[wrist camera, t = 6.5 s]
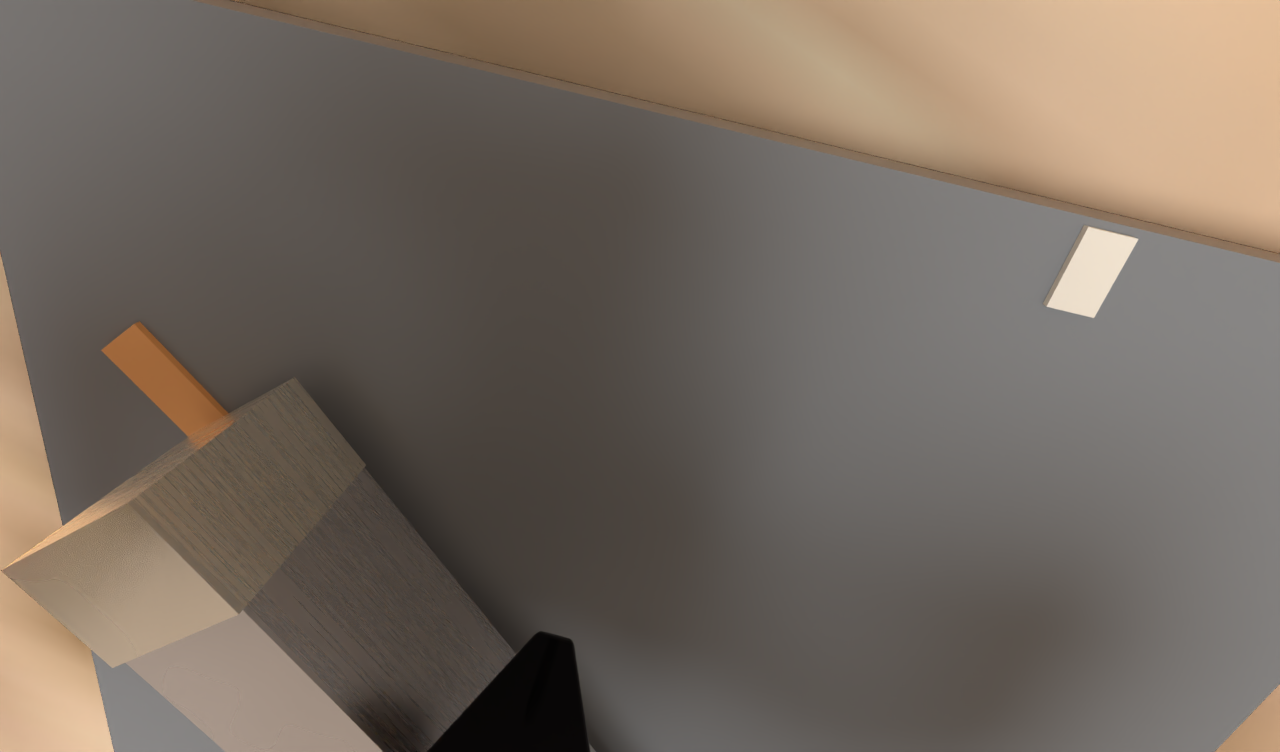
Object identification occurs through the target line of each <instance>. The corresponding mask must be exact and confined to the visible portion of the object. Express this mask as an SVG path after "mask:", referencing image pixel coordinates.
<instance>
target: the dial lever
mask: <svg viewBox="0 0 1280 752" xmlns="http://www.w3.org/2000/svg"><path fill="white" fill-rule="evenodd" d="M365 466H366V464H365V463H364V462H363V461H362V459H361V458H360V457H359V456H358V455H357V453H356V452H355V451H354V450H353V448H352V447H351V446H350V445H349V443H348V442H347V441H346V440H345V438H344V437H343V436H342V435H341V434H340V432H339V431H338V430H337V429H336V427H335V426H334V425H333V424H332V422H331V421H330V420H329V419H328V418H327V416H326V415H325V414H324V413H323V411H322V410H321V409H320V408H319V406H318V405H317V404H316V403H315V402H314V400H313V399H312V398H311V397H310V395H309V394H308V393H307V392H306V390H305V389H304V388H303V387H302V386H301V384H300V383H299V382H298V381H297V379H296V378H295V377H294V378H292V379H290V380H289V381H287V382H285V383H283V384H281V385H280V386H278V387H276V388H274V389H272V390H270V391H269V392H267V393H265V394H263V395H261V396H260V397H258V398H256V399H254V400H252V401H251V402H249V403H247V404H245V405H243V406H241V407H240V408H238V409H236V410H234V411H232V412H231V413H229V414H227V415H225V416H223V417H221V418H220V419H218V420H216V421H214V422H212V423H211V424H209V425H207V426H205V427H203V428H202V429H200V430H198V431H196V432H194V433H192V434H191V435H190V436H188V437H187V438H185V439H184V440H183V441H181V442H180V443H178V444H177V445H176V446H174V447H173V448H171V449H170V450H169V451H167V452H166V453H164V454H163V455H162V456H160V457H159V458H157V459H156V460H155V461H153V462H152V463H150V464H149V465H148V466H146V467H145V468H143V469H142V470H141V471H139V472H138V473H136V474H135V475H134V476H132V477H131V478H129V479H128V480H127V481H125V482H124V483H122V484H121V485H120V486H118V487H117V488H115V489H114V490H113V491H111V492H110V493H108V494H107V495H106V496H104V497H103V498H101V499H100V500H99V501H97V502H96V503H94V504H93V505H92V506H90V507H89V508H87V509H86V510H85V511H83V512H82V513H80V514H79V515H78V516H76V517H75V518H73V519H72V520H71V521H69V522H68V523H66V524H65V525H64V526H62V527H61V528H59V529H58V530H57V531H55V532H54V533H52V534H51V535H50V536H48V537H47V538H45V539H44V540H43V541H41V542H40V543H38V544H37V545H36V546H34V547H33V548H31V549H30V550H29V551H27V552H26V553H24V554H23V555H22V556H20V557H19V558H17V559H16V560H15V561H13V562H12V563H10V564H9V565H8V566H6V567H5V568H3V569H2V570H1V571H2V572H3V573H4V574H6V575H7V576H8V577H9V578H10V579H11V580H12V581H14V582H15V583H16V584H17V585H18V586H19V587H20V588H22V589H23V590H24V591H25V592H26V593H27V594H28V595H30V596H31V597H32V598H33V599H34V600H35V601H36V602H37V603H39V604H40V605H41V606H42V607H43V608H44V609H45V610H47V611H48V612H49V613H50V614H51V615H52V616H53V617H55V618H56V619H57V620H58V621H59V622H60V623H61V624H63V625H64V626H65V627H66V628H67V629H68V630H69V631H71V632H72V633H73V634H74V635H75V636H76V637H77V638H79V639H80V640H81V641H82V642H83V643H84V644H85V645H86V646H88V647H89V648H90V649H91V650H92V651H93V652H94V653H96V654H97V655H98V656H99V657H100V658H101V659H102V660H104V661H105V662H106V663H107V664H108V665H109V666H110V667H112V668H114V667H116V666H119V665H121V664H123V663H126V664H127V665H128V666H129V667H131V668H132V669H133V670H134V671H135V672H136V673H137V674H138V675H140V676H141V677H142V678H143V679H144V680H145V681H146V682H147V683H149V684H150V685H151V686H152V687H153V688H154V689H155V690H156V691H158V692H159V693H160V694H161V695H162V696H163V697H164V698H165V699H167V700H168V701H169V702H170V703H171V704H172V705H173V706H174V707H176V708H177V709H178V710H179V711H180V712H181V713H182V714H183V715H185V716H186V717H187V718H188V719H189V720H190V721H191V722H192V723H194V724H195V725H196V726H197V727H198V728H199V729H200V730H201V731H203V732H204V733H205V734H206V735H207V736H208V737H209V738H210V739H212V740H213V741H214V742H215V743H216V744H217V745H218V746H219V747H221V748H222V749H223V750H224V751H225V752H427V751H428V749H429V748H430V747H431V746H432V745H433V744H434V743H435V742H436V741H437V740H438V739H439V737H440V736H441V735H442V734H443V733H444V732H445V731H446V730H447V729H448V728H449V727H450V726H451V724H452V723H453V722H454V721H455V720H456V719H457V718H458V717H459V716H460V715H461V714H462V713H463V711H464V710H465V709H466V708H467V707H468V706H469V705H470V704H471V703H472V702H473V701H474V699H475V698H476V697H477V696H478V695H479V694H480V693H481V692H482V691H483V690H484V689H485V688H486V686H487V685H488V684H489V683H490V682H491V681H492V680H493V679H494V678H495V677H496V676H497V674H498V673H499V672H500V671H501V670H502V669H503V668H504V667H505V666H506V665H507V664H508V663H509V661H510V660H511V659H512V658H513V657H514V656H515V655H516V653H515V652H514V650H513V649H512V648H511V647H510V646H509V644H508V643H507V642H506V641H505V639H504V638H503V637H502V636H501V635H500V633H499V632H498V631H497V630H496V628H495V627H494V626H493V625H492V623H491V622H490V621H489V620H488V619H487V617H486V616H485V615H484V614H483V612H482V611H481V610H480V609H479V608H478V606H477V605H476V604H475V603H474V601H473V600H472V599H471V598H470V596H469V595H468V594H467V593H466V592H465V590H464V589H463V588H462V587H461V585H460V584H459V583H458V582H457V580H456V579H455V578H454V577H453V576H452V574H451V573H450V572H449V571H448V569H447V568H446V567H445V566H444V565H443V563H442V562H441V561H440V560H439V558H438V557H437V556H436V555H435V553H434V552H433V551H432V550H431V549H430V547H429V546H428V545H427V544H426V542H425V541H424V540H423V539H422V538H421V536H420V535H419V534H418V533H417V531H416V530H415V529H414V528H413V526H412V525H411V524H410V523H409V522H408V520H407V519H406V518H405V517H404V515H403V514H402V513H401V512H400V510H399V509H398V508H397V507H396V506H395V504H394V503H393V502H392V501H391V499H390V498H389V497H388V496H387V495H386V493H385V492H384V491H383V490H382V488H381V487H380V486H379V485H378V483H377V482H376V481H375V480H374V479H373V477H372V476H371V475H370V474H369V472H368V471H367V470H366V469H365V468H364V467H365ZM589 746H590V752H596V751H595V750H594V749H593V748H592V746H591V745H590V744H589Z"/></svg>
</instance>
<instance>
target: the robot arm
mask: <svg viewBox="0 0 1280 752" xmlns="http://www.w3.org/2000/svg"><path fill="white" fill-rule="evenodd" d="M427 752H590V746H589V739H588V733H587V726H586V720H585V713H584V707H583V700H582V693H581V687H580V680H579V674H578V667H577V661H576V654H575V648H574V643H573V641H572V640H571V639H570V638H567V637H563V636H559V635H555V634H551V633H547V632H544V631H539V632H537V633H536V634H534V635H533V636H532V638H531V639H530V640H529V641H528V642H527V643H526V644H525V645H524V646H523V647H522V648H521V649H520V651H519V652H518V653H517V654H516V655H515V656H514V657H513V658H512V659H511V660H510V661H509V663H508V664H507V665H506V666H505V667H504V668H503V669H502V670H501V671H500V672H499V673H498V674H497V676H496V677H495V678H494V679H493V680H492V681H491V682H490V683H489V684H488V685H487V686H486V688H485V689H484V690H483V691H482V692H481V693H480V694H479V695H478V696H477V697H476V698H475V699H474V701H473V702H472V703H471V704H470V705H469V706H468V707H467V708H466V709H465V710H464V711H463V713H462V714H461V715H460V716H459V717H458V718H457V719H456V720H455V721H454V722H453V723H452V724H451V726H450V727H449V728H448V729H447V730H446V731H445V732H444V733H443V734H442V735H441V736H440V737H439V739H438V740H437V741H436V742H435V743H434V744H433V745H432V746H431V747H430V748H429V749H428V751H427Z"/></svg>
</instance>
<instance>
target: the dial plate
mask: <svg viewBox="0 0 1280 752" xmlns="http://www.w3.org/2000/svg"><path fill="white" fill-rule="evenodd" d="M0 252H1V257H2V261H3V265H4V270H5V274H6V279H7V283H8V287H9V292H10V296H11V301H12V305H13V309H14V314H15V318H16V323H17V327H18V331H19V336H20V340H21V344H22V349H23V353H24V358H25V362H26V366H27V371H28V375H29V380H30V384H31V388H32V393H33V397H34V402H35V406H36V410H37V415H38V419H39V424H40V428H41V432H42V437H43V441H44V445H45V450H46V454H47V459H48V463H49V467H50V472H51V476H52V481H53V485H54V489H55V494H56V498H57V503H58V507H59V511H60V516H61V520H62V525H63V526H64V525H65V524H66V523H68V522H69V521H71V520H72V519H73V518H75V517H76V516H78V515H79V514H80V513H82V512H83V511H85V510H86V509H87V508H89V507H90V506H92V505H93V504H94V503H96V502H97V501H99V500H100V499H101V498H103V497H104V496H106V495H107V494H108V493H110V492H111V491H113V490H114V489H115V488H117V487H118V486H120V485H121V484H122V483H124V482H125V481H127V480H128V479H129V478H131V477H132V476H134V475H135V474H136V473H138V472H139V471H141V470H142V469H143V468H145V467H146V466H148V465H149V464H150V463H152V462H153V461H155V460H156V459H157V458H159V457H160V456H162V455H163V454H164V453H166V452H167V451H169V450H170V449H171V448H173V447H174V446H176V445H177V444H178V443H180V442H181V441H183V440H184V439H185V438H187V437H188V436H190V435H191V434H192V433H194V432H196V431H198V430H200V429H202V428H203V427H205V426H207V425H209V424H211V423H212V422H214V421H216V420H218V419H220V418H221V417H223V416H225V415H227V414H229V413H231V412H232V411H234V410H236V409H238V408H240V407H241V406H243V405H245V404H247V403H249V402H251V401H252V400H254V399H256V398H258V397H260V396H261V395H263V394H265V393H267V392H269V391H270V390H272V389H274V388H276V387H278V386H280V385H281V384H283V383H285V382H287V381H289V380H290V379H292V378H294V377H295V378H296V379H297V381H298V382H299V383H300V384H301V386H302V387H303V388H304V389H305V390H306V392H307V393H308V394H309V395H310V397H311V398H312V399H313V400H314V402H315V403H316V404H317V405H318V406H319V408H320V409H321V410H322V411H323V413H324V414H325V415H326V416H327V418H328V419H329V420H330V421H331V422H332V424H333V425H334V426H335V427H336V429H337V430H338V431H339V432H340V434H341V435H342V436H343V437H344V438H345V440H346V441H347V442H348V443H349V445H350V446H351V447H352V448H353V450H354V451H355V452H356V453H357V455H358V456H359V457H360V458H361V459H362V461H363V462H364V463H365V464H366V466H365V467H364V468H365V469H366V470H367V471H368V472H369V474H370V475H371V476H372V477H373V479H374V480H375V481H376V482H377V483H378V485H379V486H380V487H381V488H382V490H383V491H384V492H385V493H386V495H387V496H388V497H389V498H390V499H391V501H392V502H393V503H394V504H395V506H396V507H397V508H398V509H399V510H400V512H401V513H402V514H403V515H404V517H405V518H406V519H407V520H408V522H409V523H410V524H411V525H412V526H413V528H414V529H415V530H416V531H417V533H418V534H419V535H420V536H421V538H422V539H423V540H424V541H425V542H426V544H427V545H428V546H429V547H430V549H431V550H432V551H433V552H434V553H435V555H436V556H437V557H438V558H439V560H440V561H441V562H442V563H443V565H444V566H445V567H446V568H447V569H448V571H449V572H450V573H451V574H452V576H453V577H454V578H455V579H456V580H457V582H458V583H459V584H460V585H461V587H462V588H463V589H464V590H465V592H466V593H467V594H468V595H469V596H470V598H471V599H472V600H473V601H474V603H475V604H476V605H477V606H478V608H479V609H480V610H481V611H482V612H483V614H484V615H485V616H486V617H487V619H488V620H489V621H490V622H491V623H492V625H493V626H494V627H495V628H496V630H497V631H498V632H499V633H500V635H501V636H502V637H503V638H504V639H505V641H506V642H507V643H508V644H509V646H510V647H511V648H512V649H513V650H514V652H515V653H516V654H517V653H518V652H519V651H520V649H521V648H522V647H523V646H524V645H525V644H526V643H527V642H528V641H529V640H530V639H531V638H532V636H533V635H534V634H536V633H537V632H539V631H544V632H547V633H551V634H555V635H559V636H563V637H567V638H570V639H571V640H572V641H573V643H574V648H575V654H576V661H577V667H578V674H579V680H580V687H581V693H582V700H583V707H584V713H585V720H586V726H587V733H588V739H589V744H590V745H591V746H592V748H593V749H594V750H595V751H596V752H1215V751H1216V750H1217V749H1218V748H1219V747H1220V746H1221V744H1222V743H1223V742H1224V741H1225V740H1226V739H1227V738H1228V737H1229V736H1230V735H1231V734H1232V733H1233V732H1234V731H1235V730H1236V729H1237V728H1238V727H1239V726H1240V725H1241V724H1242V723H1243V722H1244V721H1245V720H1246V718H1247V717H1248V716H1249V715H1250V714H1251V713H1252V712H1253V711H1254V710H1255V709H1256V708H1257V707H1258V706H1259V705H1260V704H1261V703H1262V702H1263V701H1264V700H1265V699H1266V698H1267V697H1268V696H1269V695H1270V694H1271V692H1272V691H1273V690H1274V689H1275V688H1276V687H1277V686H1278V685H1279V684H1280V254H1278V253H1274V252H1270V251H1266V250H1261V249H1257V248H1253V247H1249V246H1245V245H1241V244H1237V243H1232V242H1228V241H1224V240H1220V239H1216V238H1212V237H1208V236H1203V235H1199V234H1195V233H1191V232H1187V231H1183V230H1179V229H1174V228H1170V227H1166V226H1162V225H1158V224H1154V223H1150V222H1145V221H1141V220H1137V219H1133V218H1129V217H1125V216H1121V215H1117V214H1112V213H1108V212H1104V211H1100V210H1096V209H1092V208H1088V207H1083V206H1079V205H1075V204H1071V203H1067V202H1063V201H1059V200H1054V199H1050V198H1046V197H1042V196H1038V195H1034V194H1030V193H1025V192H1021V191H1017V190H1013V189H1009V188H1005V187H1001V186H996V185H992V184H988V183H984V182H980V181H976V180H972V179H967V178H963V177H959V176H955V175H951V174H947V173H943V172H939V171H934V170H930V169H926V168H922V167H918V166H914V165H910V164H905V163H901V162H897V161H893V160H889V159H885V158H881V157H876V156H872V155H868V154H864V153H860V152H856V151H852V150H847V149H843V148H839V147H835V146H831V145H827V144H823V143H818V142H814V141H810V140H806V139H802V138H798V137H794V136H789V135H785V134H781V133H777V132H773V131H769V130H765V129H761V128H756V127H752V126H748V125H744V124H740V123H736V122H732V121H727V120H723V119H719V118H715V117H711V116H707V115H703V114H698V113H694V112H690V111H686V110H682V109H678V108H674V107H669V106H665V105H661V104H657V103H653V102H649V101H645V100H640V99H636V98H632V97H628V96H624V95H620V94H616V93H611V92H607V91H603V90H599V89H595V88H591V87H587V86H582V85H578V84H574V83H570V82H566V81H562V80H558V79H554V78H549V77H545V76H541V75H537V74H533V73H529V72H525V71H520V70H516V69H512V68H508V67H504V66H500V65H496V64H491V63H487V62H483V61H479V60H475V59H471V58H467V57H462V56H458V55H454V54H450V53H446V52H442V51H438V50H433V49H429V48H425V47H421V46H417V45H413V44H409V43H404V42H400V41H396V40H392V39H388V38H384V37H380V36H376V35H371V34H367V33H363V32H359V31H355V30H351V29H347V28H342V27H338V26H334V25H330V24H326V23H322V22H318V21H313V20H309V19H305V18H301V17H297V16H293V15H289V14H284V13H280V12H276V11H272V10H268V9H264V8H260V7H255V6H251V5H247V4H243V3H239V2H235V1H231V0H0ZM91 652H92V656H93V661H94V665H95V669H96V674H97V678H98V683H99V687H100V691H101V696H102V700H103V705H104V709H105V713H106V718H107V722H108V727H109V731H110V735H111V740H112V744H113V748H114V752H225V751H224V750H223V749H222V748H221V747H219V746H218V745H217V744H216V743H215V742H214V741H213V740H212V739H210V738H209V737H208V736H207V735H206V734H205V733H204V732H203V731H201V730H200V729H199V728H198V727H197V726H196V725H195V724H194V723H192V722H191V721H190V720H189V719H188V718H187V717H186V716H185V715H183V714H182V713H181V712H180V711H179V710H178V709H177V708H176V707H174V706H173V705H172V704H171V703H170V702H169V701H168V700H167V699H165V698H164V697H163V696H162V695H161V694H160V693H159V692H158V691H156V690H155V689H154V688H153V687H152V686H151V685H150V684H149V683H147V682H146V681H145V680H144V679H143V678H142V677H141V676H140V675H138V674H137V673H136V672H135V671H134V670H133V669H132V668H131V667H129V666H128V665H127V664H126V663H123V664H121V665H119V666H116V667H114V668H112V667H110V666H109V665H108V664H107V663H106V662H105V661H104V660H102V659H101V658H100V657H99V656H98V655H97V654H96V653H94V652H93V651H92V650H91Z"/></svg>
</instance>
